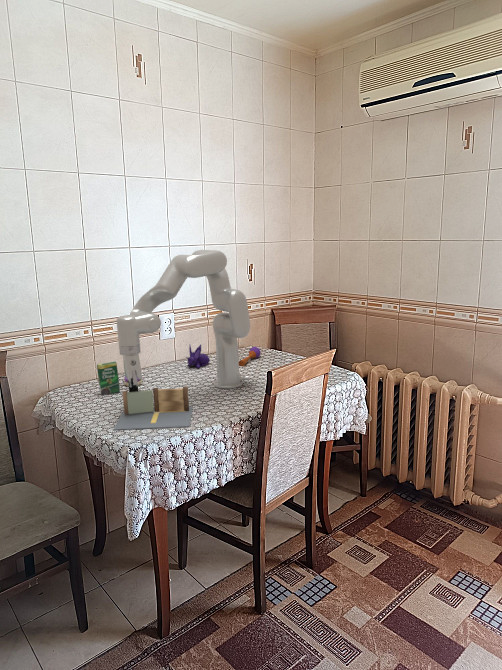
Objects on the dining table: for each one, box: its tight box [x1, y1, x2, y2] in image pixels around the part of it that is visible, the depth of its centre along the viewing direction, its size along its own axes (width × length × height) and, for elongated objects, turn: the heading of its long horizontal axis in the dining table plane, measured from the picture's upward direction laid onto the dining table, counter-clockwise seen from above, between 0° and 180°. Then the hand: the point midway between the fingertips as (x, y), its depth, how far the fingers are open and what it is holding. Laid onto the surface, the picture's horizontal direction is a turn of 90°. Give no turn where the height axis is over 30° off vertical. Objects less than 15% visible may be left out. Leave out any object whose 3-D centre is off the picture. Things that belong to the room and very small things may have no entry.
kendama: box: [239, 346, 261, 367], centre depth 251 cm, size 6×6×20 cm
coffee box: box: [96, 361, 121, 396], centre depth 207 cm, size 8×3×13 cm, turn 114°
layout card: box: [112, 405, 194, 431], centre depth 180 cm, size 26×19×1 cm
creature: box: [185, 344, 210, 369], centre depth 244 cm, size 9×18×12 cm, turn 147°
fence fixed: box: [152, 385, 190, 412], centre depth 184 cm, size 13×2×9 cm, turn 93°
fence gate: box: [121, 389, 154, 415], centre depth 182 cm, size 11×2×9 cm, turn 104°
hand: (134, 396), depth 184 cm, fingers closed
